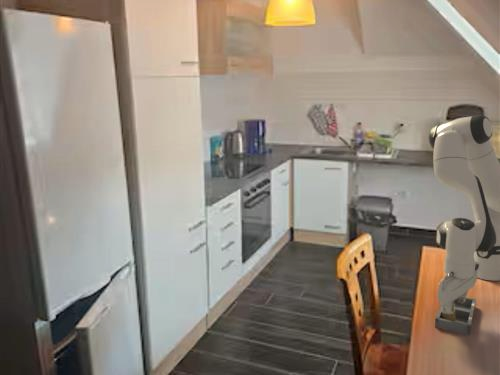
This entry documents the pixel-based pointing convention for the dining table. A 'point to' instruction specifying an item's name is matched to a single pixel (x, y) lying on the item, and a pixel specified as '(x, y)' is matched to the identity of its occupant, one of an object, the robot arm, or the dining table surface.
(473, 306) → the grey divided tray
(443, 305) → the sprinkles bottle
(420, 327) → the dining table surface
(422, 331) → the dining table surface
